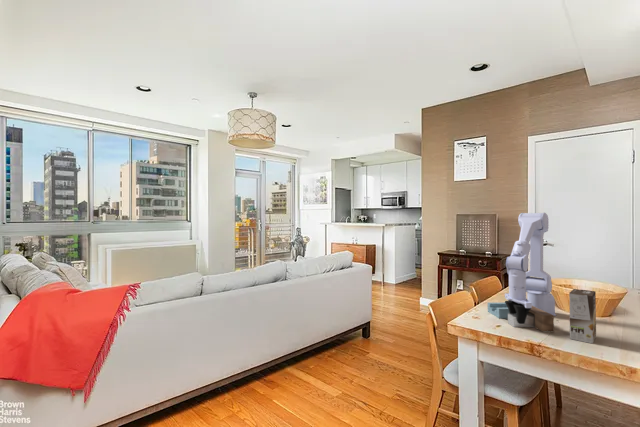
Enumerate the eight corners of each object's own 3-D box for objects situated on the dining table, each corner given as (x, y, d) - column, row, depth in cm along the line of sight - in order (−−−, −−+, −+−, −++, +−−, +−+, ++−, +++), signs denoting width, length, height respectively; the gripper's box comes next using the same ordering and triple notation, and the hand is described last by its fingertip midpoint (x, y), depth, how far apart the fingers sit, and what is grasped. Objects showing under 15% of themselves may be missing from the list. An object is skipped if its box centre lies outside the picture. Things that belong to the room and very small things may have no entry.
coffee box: (593, 344, 107) (592, 295, 107) (569, 339, 112) (568, 292, 112) (596, 336, 114) (595, 291, 114) (573, 332, 118) (573, 288, 118)
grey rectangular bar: (538, 323, 128) (538, 313, 128) (545, 326, 124) (545, 316, 124) (507, 323, 128) (507, 313, 128) (513, 326, 124) (513, 316, 124)
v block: (510, 311, 144) (510, 302, 144) (523, 318, 134) (523, 308, 134) (487, 311, 144) (487, 302, 144) (499, 318, 134) (499, 308, 134)
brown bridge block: (530, 319, 133) (529, 304, 133) (553, 331, 119) (553, 315, 119) (520, 319, 133) (520, 304, 133) (542, 331, 119) (542, 315, 119)
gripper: (497, 282, 134) (497, 315, 133) (517, 291, 119) (518, 327, 119) (514, 282, 133) (515, 315, 133) (537, 290, 119) (537, 327, 119)
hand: (517, 321), depth 126 cm, fingers closed on grey rectangular bar, 4 cm apart
